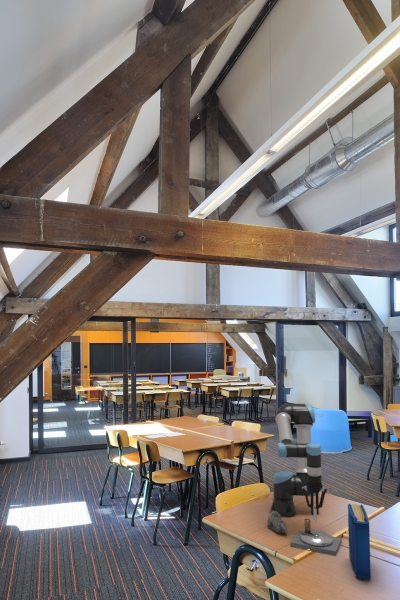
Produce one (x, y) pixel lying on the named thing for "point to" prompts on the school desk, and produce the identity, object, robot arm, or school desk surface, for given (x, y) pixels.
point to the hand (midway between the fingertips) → (314, 520)
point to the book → (359, 541)
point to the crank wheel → (315, 536)
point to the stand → (329, 549)
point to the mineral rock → (276, 522)
